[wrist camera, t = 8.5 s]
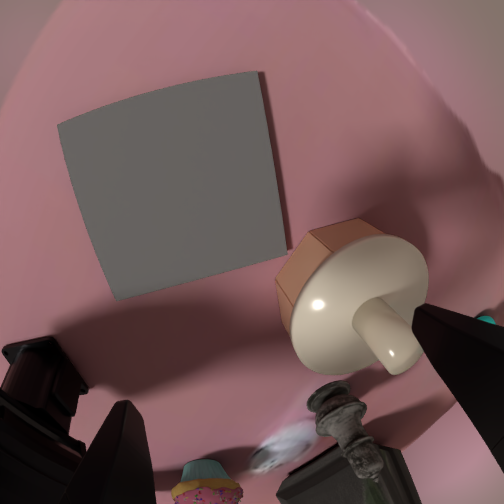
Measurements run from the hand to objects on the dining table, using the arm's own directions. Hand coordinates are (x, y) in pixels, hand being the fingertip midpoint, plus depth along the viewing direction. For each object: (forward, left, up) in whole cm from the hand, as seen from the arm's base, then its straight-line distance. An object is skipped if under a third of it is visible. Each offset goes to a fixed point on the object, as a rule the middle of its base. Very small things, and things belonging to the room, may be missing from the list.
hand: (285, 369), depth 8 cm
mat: (-2, +3, -12) cm, 13 cm away
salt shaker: (+7, -22, -13) cm, 26 cm away
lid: (+8, -7, -8) cm, 14 cm away
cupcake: (-10, -30, -13) cm, 34 cm away
